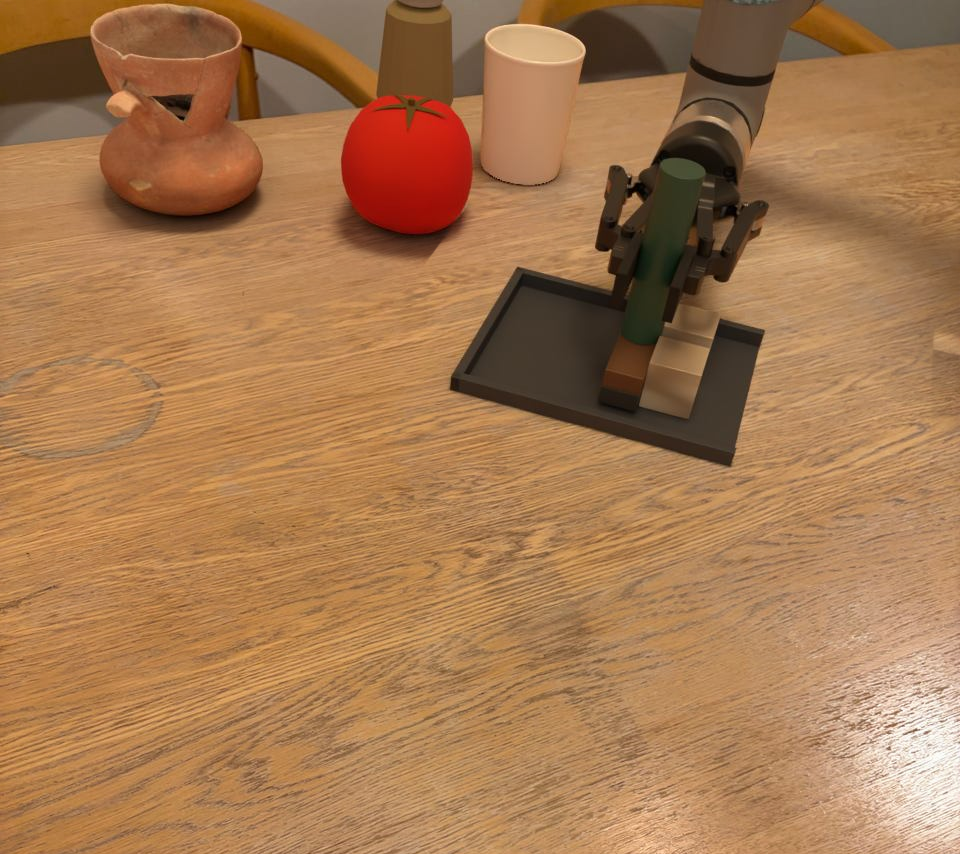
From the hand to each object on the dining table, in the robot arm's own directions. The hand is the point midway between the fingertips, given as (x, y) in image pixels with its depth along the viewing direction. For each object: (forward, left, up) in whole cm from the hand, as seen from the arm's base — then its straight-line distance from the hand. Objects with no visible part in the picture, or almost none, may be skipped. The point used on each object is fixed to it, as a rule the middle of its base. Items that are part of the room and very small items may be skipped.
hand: (644, 297), depth 72 cm
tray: (+5, -2, -10) cm, 12 cm away
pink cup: (+41, -11, -11) cm, 44 cm away
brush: (+4, -4, -9) cm, 11 cm away
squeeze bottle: (+51, -3, -11) cm, 52 cm away
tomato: (+33, +5, -11) cm, 35 cm away
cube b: (0, -4, -9) cm, 10 cm away
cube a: (+4, -8, -9) cm, 13 cm away
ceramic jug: (+43, +23, -11) cm, 50 cm away
